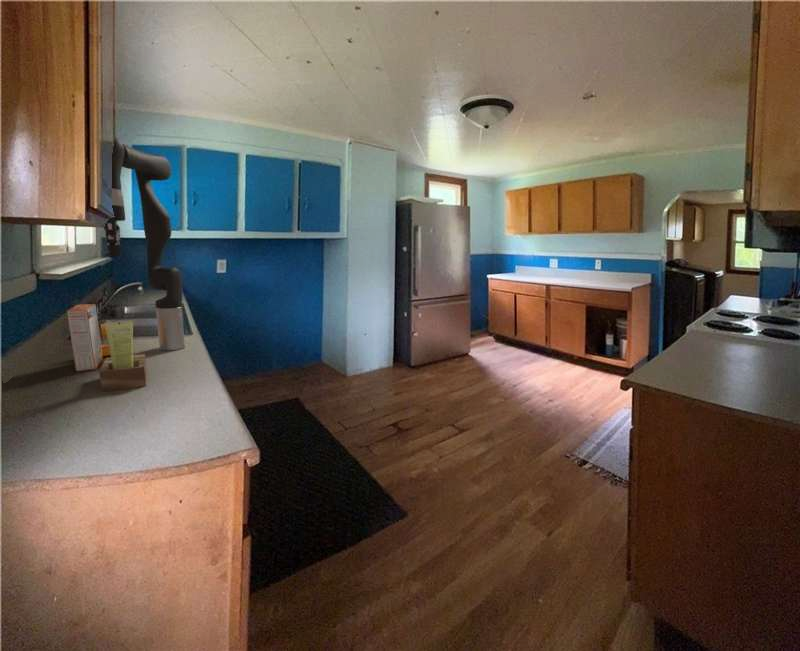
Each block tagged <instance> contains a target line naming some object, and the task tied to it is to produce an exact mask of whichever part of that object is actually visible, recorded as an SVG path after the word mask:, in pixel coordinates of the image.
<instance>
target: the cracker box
mask: <svg viewBox="0 0 800 651" xmlns="http://www.w3.org/2000/svg"><path fill="white" fill-rule="evenodd" d="M96 306H97V305H96V304H95V303H92V304H91V303H89V304H86V303H85V304H76V305H75V306H73V307H71V308H70V309H68V310H66V314H67V316H66V317H67V322H68V328H69V334H70V340H71V347H72V354H73V359H74V360H73V361H74V367H75V372H84V371H85V372H86V371H92V370H93V371H95V370H97V368H98V367H99V365H100V363H102V361H103V358H104V356H102V349H101V345H102V343H101V337H100V336H101V334H100V328H99V327H100V326H99V322H98V321H99V320H98V314H97V307H96Z"/></svg>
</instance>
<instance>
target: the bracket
mask: <svg viewBox="0 0 800 651" xmlns="http://www.w3.org/2000/svg"><path fill="white" fill-rule="evenodd" d="M100 329H101V338H102V339H108V338H107V334H106V330H105V327H104V323H102V324H100ZM101 349H102V356H103V357H111V353H110V347H109V344H101Z"/></svg>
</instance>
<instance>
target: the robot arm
mask: <svg viewBox="0 0 800 651" xmlns="http://www.w3.org/2000/svg"><path fill="white" fill-rule="evenodd" d="M114 137H115V140H114V146H113V153H112V208H113V212H114V216H115V217H114V218H113V217H112V218H110V219H109V220H108V221H107V223H106V222H104V224H105V227H104V226H103V231H104V237H105V242H106V244H107V246H108V254H109V256H108V257H109V258H110V259H118V258H120V257H121V248H120V245H121V227H120V226H119V224H117V223H118V222H125V221H126V211H125V202H124V200H125V199H124V195H123V191H122V183H121V173H122V168H125V169H129V170H134V172H135V178H136V182H137V186H138V191H139V197H140V202H141V213H142V214H141V215H142V223H143V231H144V236H145V237H144V238H145V244H146V245H145V246H146V261H147V262H146V264H147V266H146V268H147V270H146V271H147V274H146V275H147V280H148V285H149V286H150V288H151V289H153V290H155V291H166V295H165V296H164V297H162V298H160V299H159V298H158V299H157V300H155V302H154V303H155V313H156V315H155V316H156V324H157V333H158V334H157V336H158V345H159V350H160V351H176V350H182V349H185V348H186V345H185V343H186V342H185V332H184V329H185V328H184V319H183V307H182V302H183V278H182V274H181V272H180V271H181V270H179V269H178V268H176V267H169V266H166V267H165V266H163V261H162V259H163V253H164V251H165V249H166V247H167V245H168V244H169V242H170V239H171V237H172V223H171V217H170V214H169V213H168V211H167V210H166V209H165V207H164V206H163V205H162V203H161V202H160V200H159V199H158V198H157V196H156V195H155V192H154V189H153V187H152V181H158V182H159V181H160V182H161V181H167V180H169V179H170V177H171V175H172V168H171V167H172V166H171V163H170V162H169V160H168V159H167V157H165V156H164V155H160V154H150V153H147V152H144V151H141V150H138V149H136V148H133V147H131V146H129V145H127V144H124V143H122V141H121V140H120V139H119V138H118V137H116V136H114ZM181 348H182V349H181Z"/></svg>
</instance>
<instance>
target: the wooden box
mask: <svg viewBox="0 0 800 651" xmlns="http://www.w3.org/2000/svg"><path fill="white" fill-rule="evenodd" d="M147 367H148V366H147V358H146V354H145V353H142V354H133V367H129V368H120V369H113V365H112V358H111V356H109V357H105V358H104V360H103V363H102V365H101V367H100V370H99V380H100V388H101V392H102V393H103V392H104V393H105V392H110V391H117V390H119V391H120V390H126V389H133V388H141V387H142V386H143V387H147V379H148V376H147V375H148V369H147Z"/></svg>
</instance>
